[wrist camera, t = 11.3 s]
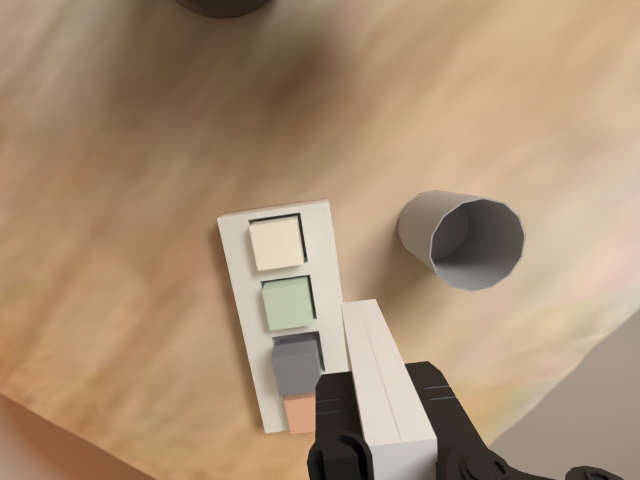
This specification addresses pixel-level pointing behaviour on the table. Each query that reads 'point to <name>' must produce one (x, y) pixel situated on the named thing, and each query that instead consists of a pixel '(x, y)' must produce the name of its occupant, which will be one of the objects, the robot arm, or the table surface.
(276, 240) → the key cream
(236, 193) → the table surface
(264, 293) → the key sage
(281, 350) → the key charcoal
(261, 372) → the keypad
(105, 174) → the table surface
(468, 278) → the cup
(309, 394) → the key terracotta
